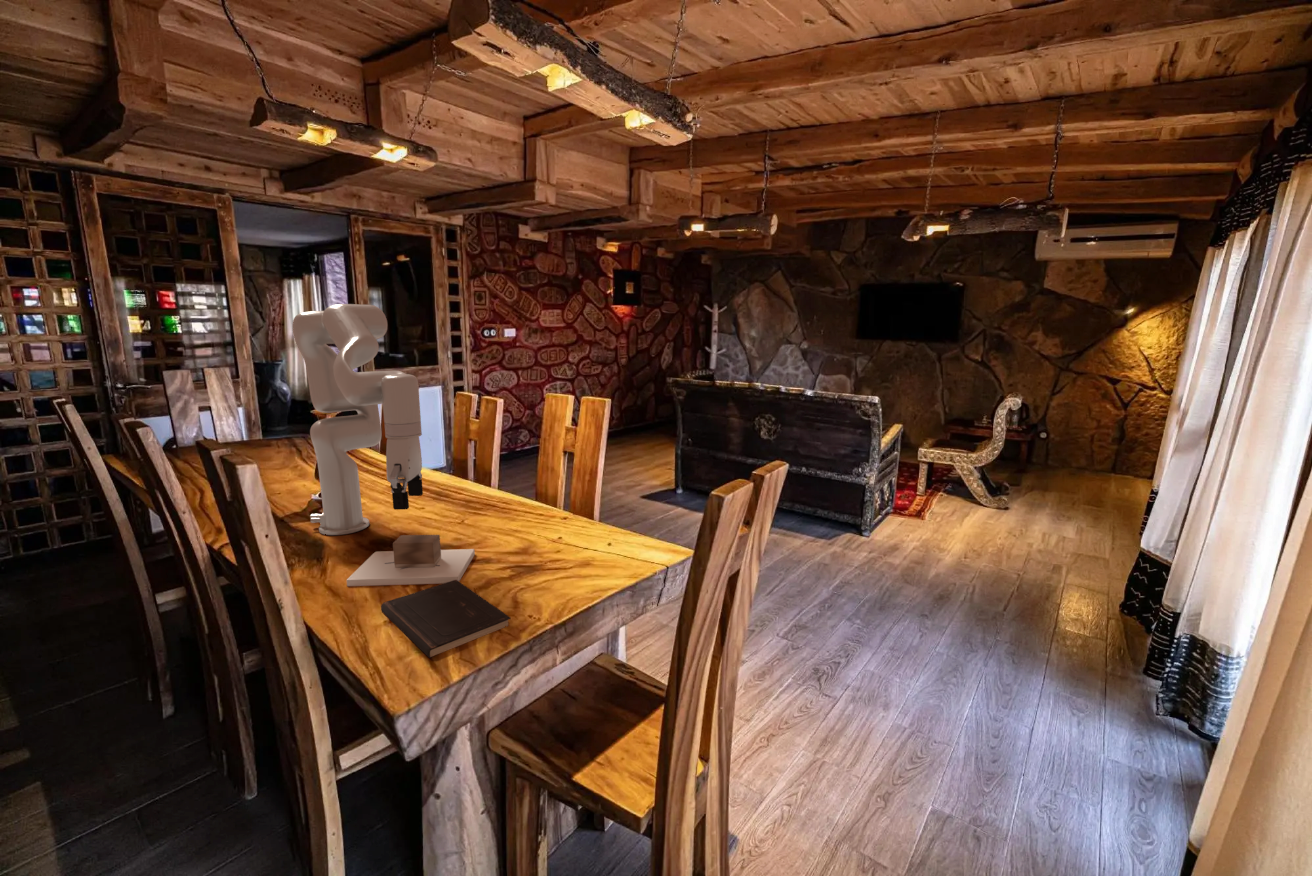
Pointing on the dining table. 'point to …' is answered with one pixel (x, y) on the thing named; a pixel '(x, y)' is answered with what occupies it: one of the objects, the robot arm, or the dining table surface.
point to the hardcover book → (444, 617)
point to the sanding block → (417, 551)
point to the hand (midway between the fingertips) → (408, 502)
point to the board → (411, 570)
